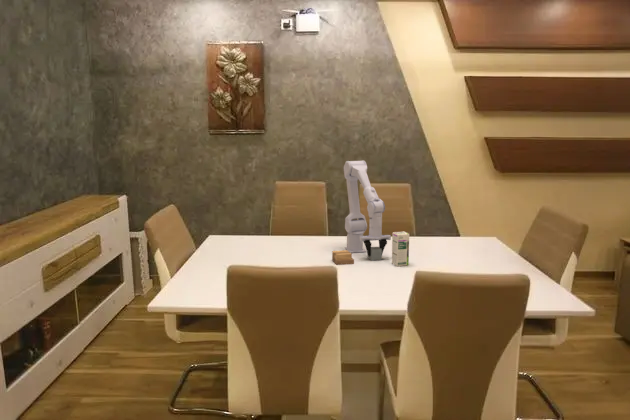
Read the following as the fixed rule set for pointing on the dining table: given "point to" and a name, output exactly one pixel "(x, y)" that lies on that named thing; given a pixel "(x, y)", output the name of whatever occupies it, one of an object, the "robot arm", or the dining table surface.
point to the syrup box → (400, 248)
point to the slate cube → (375, 253)
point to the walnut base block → (343, 261)
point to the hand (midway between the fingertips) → (374, 255)
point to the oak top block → (342, 255)
